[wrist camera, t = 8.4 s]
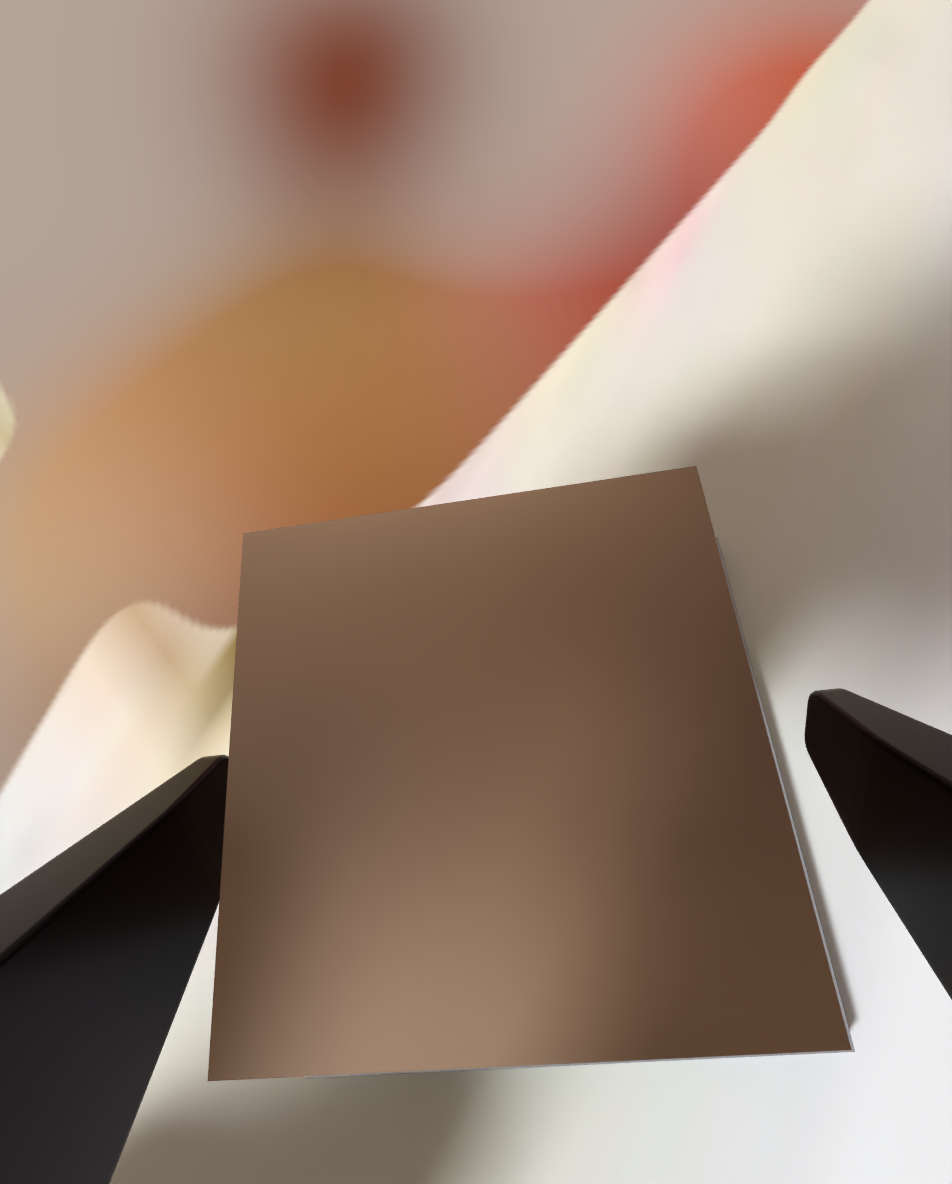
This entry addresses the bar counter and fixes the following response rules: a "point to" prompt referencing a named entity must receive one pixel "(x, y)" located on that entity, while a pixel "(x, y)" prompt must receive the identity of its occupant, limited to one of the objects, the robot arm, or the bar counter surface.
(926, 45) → the bar counter surface
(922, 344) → the bar counter surface
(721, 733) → the tapered wooden block
